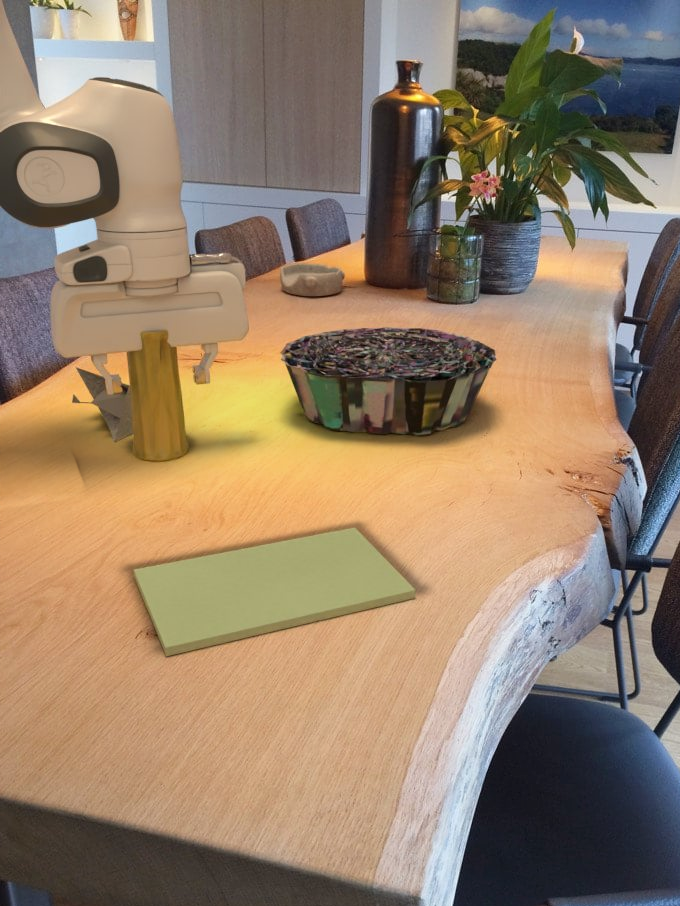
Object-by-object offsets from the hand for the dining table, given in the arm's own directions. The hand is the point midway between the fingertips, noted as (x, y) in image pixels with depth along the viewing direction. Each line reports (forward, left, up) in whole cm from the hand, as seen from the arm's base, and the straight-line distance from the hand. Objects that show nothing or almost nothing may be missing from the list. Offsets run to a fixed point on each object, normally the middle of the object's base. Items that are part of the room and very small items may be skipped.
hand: (159, 387), depth 90 cm
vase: (0, 0, -8) cm, 8 cm away
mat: (+2, -33, -8) cm, 33 cm away
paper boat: (-4, +11, -8) cm, 15 cm away
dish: (+50, +81, -8) cm, 96 cm away
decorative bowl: (+30, +3, -8) cm, 31 cm away
